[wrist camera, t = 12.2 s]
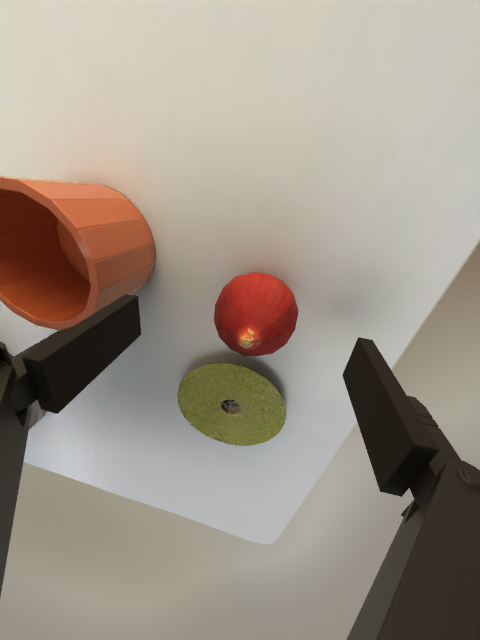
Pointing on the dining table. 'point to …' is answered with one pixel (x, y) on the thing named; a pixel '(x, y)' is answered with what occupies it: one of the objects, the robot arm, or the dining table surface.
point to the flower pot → (69, 249)
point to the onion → (255, 314)
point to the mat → (231, 404)
